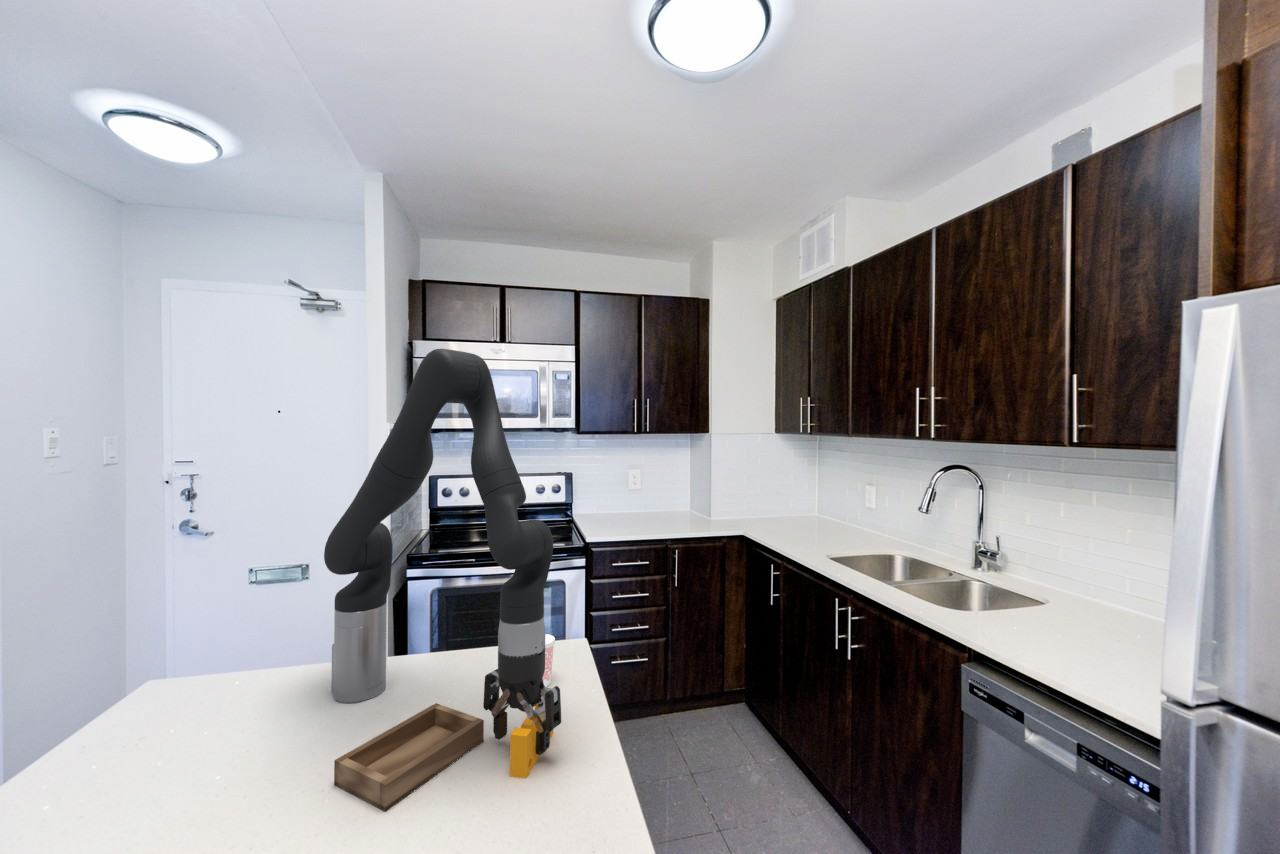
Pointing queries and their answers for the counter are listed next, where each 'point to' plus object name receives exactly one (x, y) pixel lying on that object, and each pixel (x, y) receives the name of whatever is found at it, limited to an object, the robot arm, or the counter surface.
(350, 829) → the counter surface
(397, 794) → the wooden tray
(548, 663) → the beverage cup
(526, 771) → the pipe clamp
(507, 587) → the robot arm
